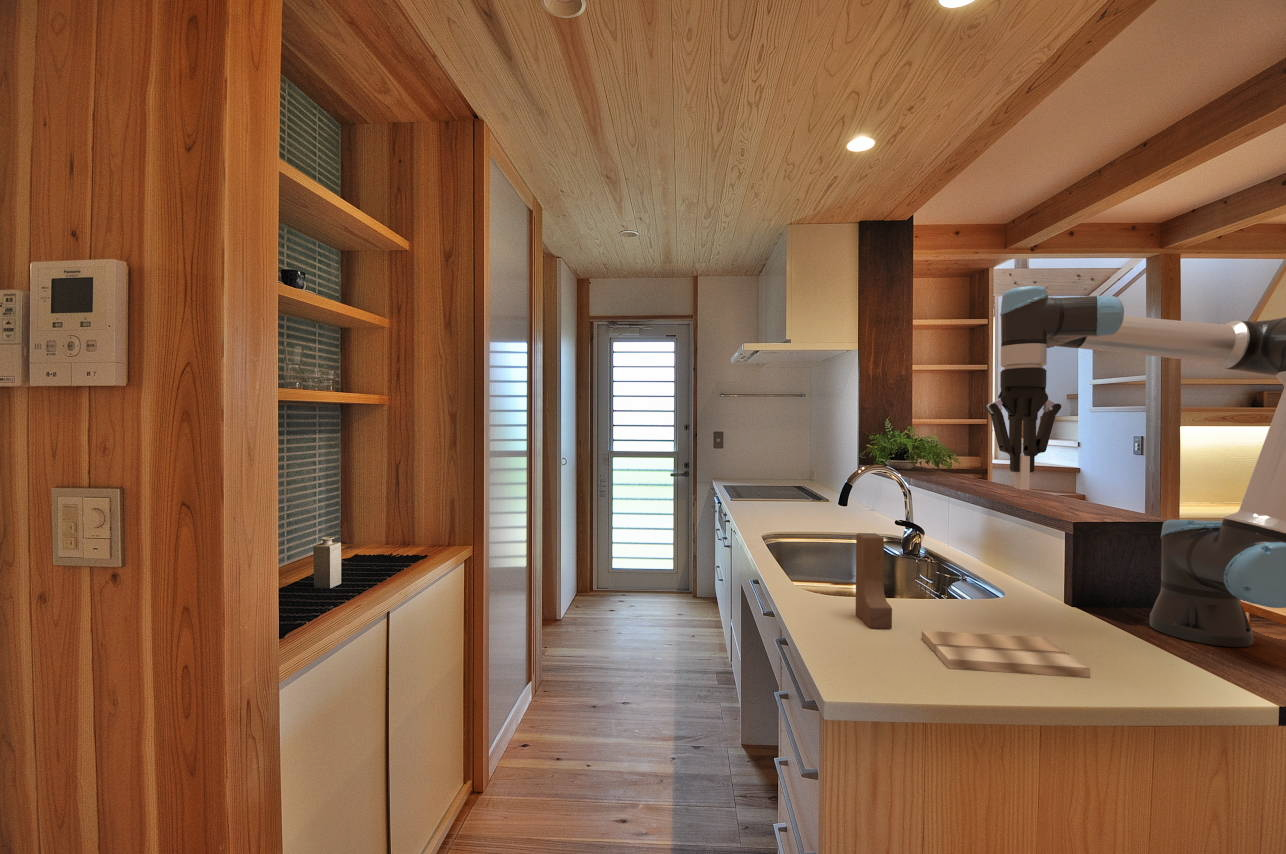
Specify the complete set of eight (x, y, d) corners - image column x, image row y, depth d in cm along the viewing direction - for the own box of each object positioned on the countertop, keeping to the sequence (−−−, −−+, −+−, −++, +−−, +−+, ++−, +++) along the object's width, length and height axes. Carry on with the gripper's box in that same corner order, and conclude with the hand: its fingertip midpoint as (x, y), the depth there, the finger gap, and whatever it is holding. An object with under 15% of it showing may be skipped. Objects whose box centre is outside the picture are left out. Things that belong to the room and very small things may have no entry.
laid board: (1067, 661, 103) (1067, 652, 103) (1090, 677, 96) (1090, 667, 96) (935, 653, 106) (935, 644, 106) (948, 668, 100) (948, 658, 99)
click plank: (1044, 645, 110) (1044, 637, 110) (1065, 660, 103) (1065, 651, 103) (921, 638, 113) (921, 630, 113) (934, 652, 106) (934, 643, 106)
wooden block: (892, 629, 118) (893, 541, 118) (870, 629, 119) (871, 540, 119) (875, 615, 127) (876, 533, 127) (854, 614, 128) (855, 532, 128)
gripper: (1049, 369, 116) (1047, 488, 116) (978, 370, 118) (977, 486, 118) (1071, 365, 109) (1069, 492, 109) (995, 366, 110) (994, 490, 110)
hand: (1021, 489), depth 113 cm, fingers closed
